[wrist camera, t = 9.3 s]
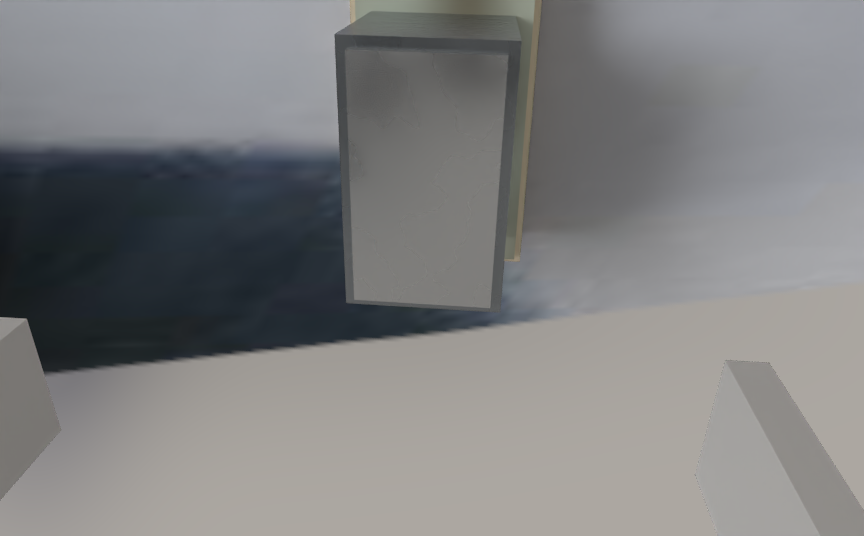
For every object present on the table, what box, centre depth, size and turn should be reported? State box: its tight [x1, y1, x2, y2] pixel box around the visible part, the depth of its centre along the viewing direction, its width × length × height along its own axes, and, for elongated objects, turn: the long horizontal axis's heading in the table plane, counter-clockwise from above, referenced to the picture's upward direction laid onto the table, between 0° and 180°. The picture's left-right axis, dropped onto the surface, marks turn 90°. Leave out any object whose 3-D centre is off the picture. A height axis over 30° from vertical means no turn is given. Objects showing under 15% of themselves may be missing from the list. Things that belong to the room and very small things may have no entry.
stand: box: [350, 0, 542, 262], centre depth 31 cm, size 8×13×4 cm, turn 179°
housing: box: [335, 11, 522, 312], centre depth 26 cm, size 10×6×7 cm, turn 179°
